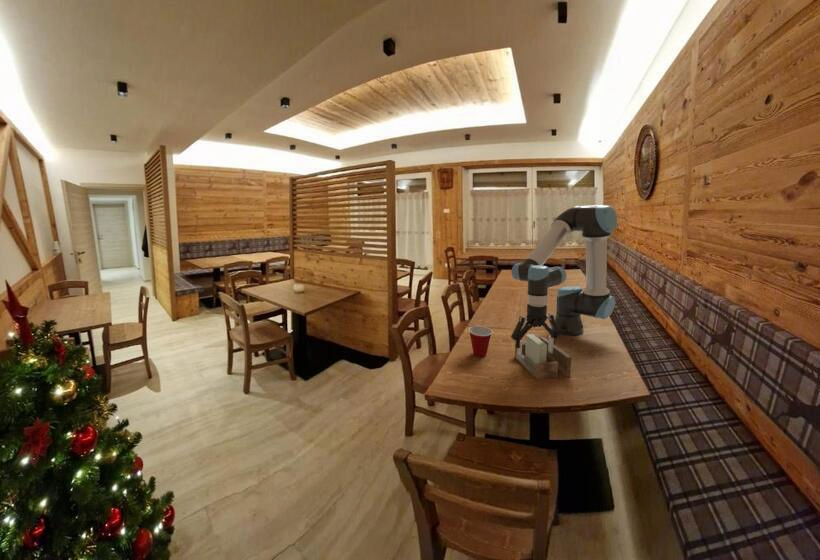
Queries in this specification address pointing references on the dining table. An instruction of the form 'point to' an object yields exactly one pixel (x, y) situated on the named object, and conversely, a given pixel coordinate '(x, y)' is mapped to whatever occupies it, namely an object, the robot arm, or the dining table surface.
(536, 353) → the door panel
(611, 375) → the dining table surface
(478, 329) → the plastic cup
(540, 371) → the track
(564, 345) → the dining table surface
